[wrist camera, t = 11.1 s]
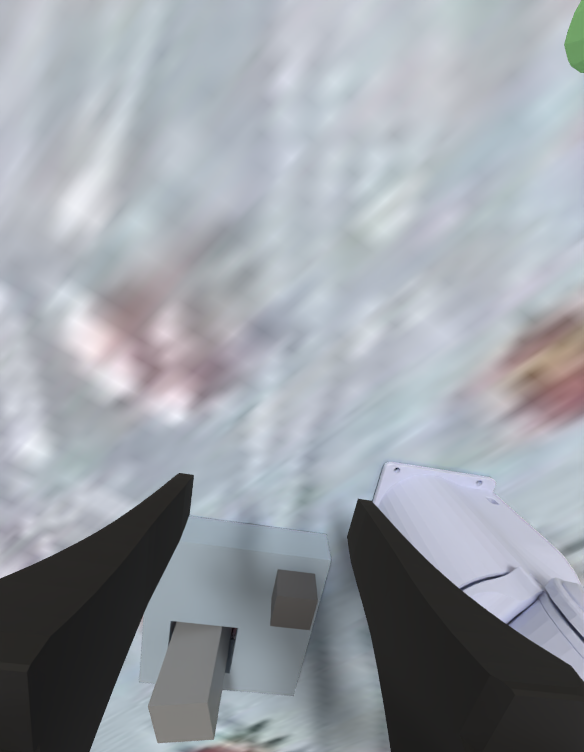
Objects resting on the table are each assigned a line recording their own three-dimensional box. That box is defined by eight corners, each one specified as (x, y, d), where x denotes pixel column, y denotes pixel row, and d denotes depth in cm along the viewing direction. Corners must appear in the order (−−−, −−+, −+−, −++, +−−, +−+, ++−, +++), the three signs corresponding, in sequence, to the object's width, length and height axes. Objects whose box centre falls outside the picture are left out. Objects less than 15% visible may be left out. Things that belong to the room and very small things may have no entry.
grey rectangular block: (228, 595, 25) (207, 702, 18) (232, 627, 26) (213, 739, 19) (185, 597, 25) (147, 706, 18) (190, 629, 26) (157, 743, 19)
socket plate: (326, 534, 24) (336, 586, 19) (292, 661, 27) (294, 728, 23) (163, 512, 23) (134, 561, 18) (152, 647, 26) (126, 715, 22)
